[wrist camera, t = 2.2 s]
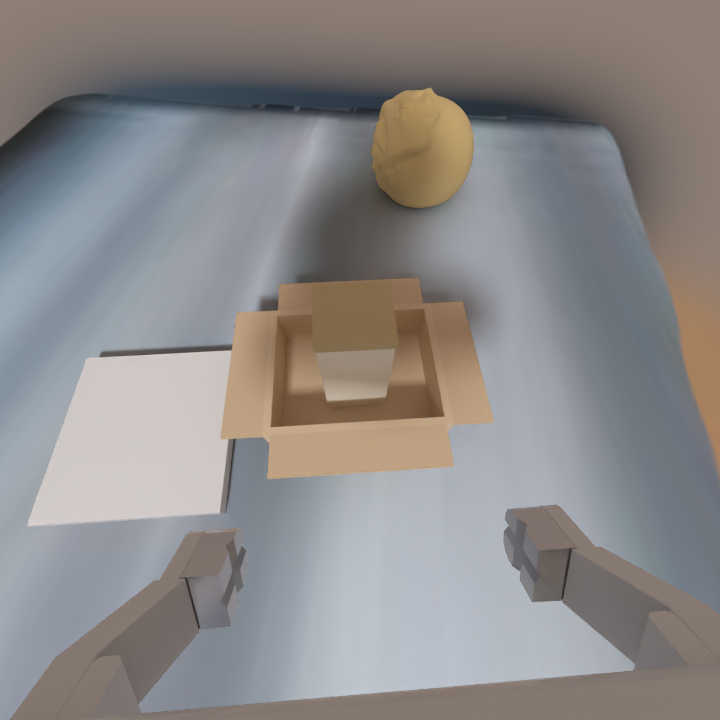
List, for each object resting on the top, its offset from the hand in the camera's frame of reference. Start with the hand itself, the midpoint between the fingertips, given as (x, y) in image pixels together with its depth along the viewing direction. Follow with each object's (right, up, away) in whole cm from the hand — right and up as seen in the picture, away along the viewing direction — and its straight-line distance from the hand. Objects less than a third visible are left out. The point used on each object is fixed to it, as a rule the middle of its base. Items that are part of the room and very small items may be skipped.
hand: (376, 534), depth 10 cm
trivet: (-18, -1, +19) cm, 26 cm away
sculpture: (+7, +28, +34) cm, 45 cm away
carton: (-1, +3, +21) cm, 21 cm away
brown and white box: (-1, +3, +21) cm, 21 cm away
